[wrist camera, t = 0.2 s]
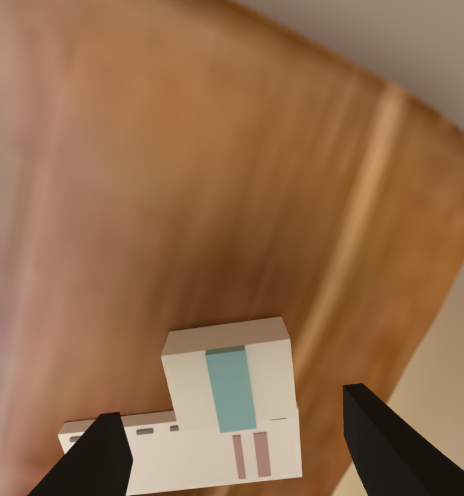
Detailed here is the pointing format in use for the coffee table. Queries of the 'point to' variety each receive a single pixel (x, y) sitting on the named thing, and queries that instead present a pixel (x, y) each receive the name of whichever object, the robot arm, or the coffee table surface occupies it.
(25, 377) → the coffee table surface
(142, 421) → the board
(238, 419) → the white and teal box
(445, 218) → the coffee table surface
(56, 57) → the coffee table surface
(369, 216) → the coffee table surface
